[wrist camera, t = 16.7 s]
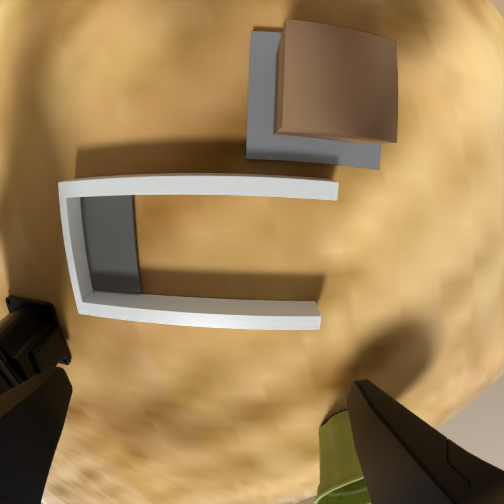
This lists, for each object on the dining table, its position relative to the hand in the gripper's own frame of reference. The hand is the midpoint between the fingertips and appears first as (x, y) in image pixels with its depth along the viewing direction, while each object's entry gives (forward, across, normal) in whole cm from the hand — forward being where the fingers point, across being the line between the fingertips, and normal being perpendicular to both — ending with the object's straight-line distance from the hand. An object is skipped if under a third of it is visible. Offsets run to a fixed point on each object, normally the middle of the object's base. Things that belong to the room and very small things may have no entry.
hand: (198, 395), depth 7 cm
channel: (+12, +2, -1) cm, 12 cm away
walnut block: (+11, -6, -10) cm, 16 cm away
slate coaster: (+11, -6, -10) cm, 16 cm away
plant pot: (+12, -12, +18) cm, 25 cm away
